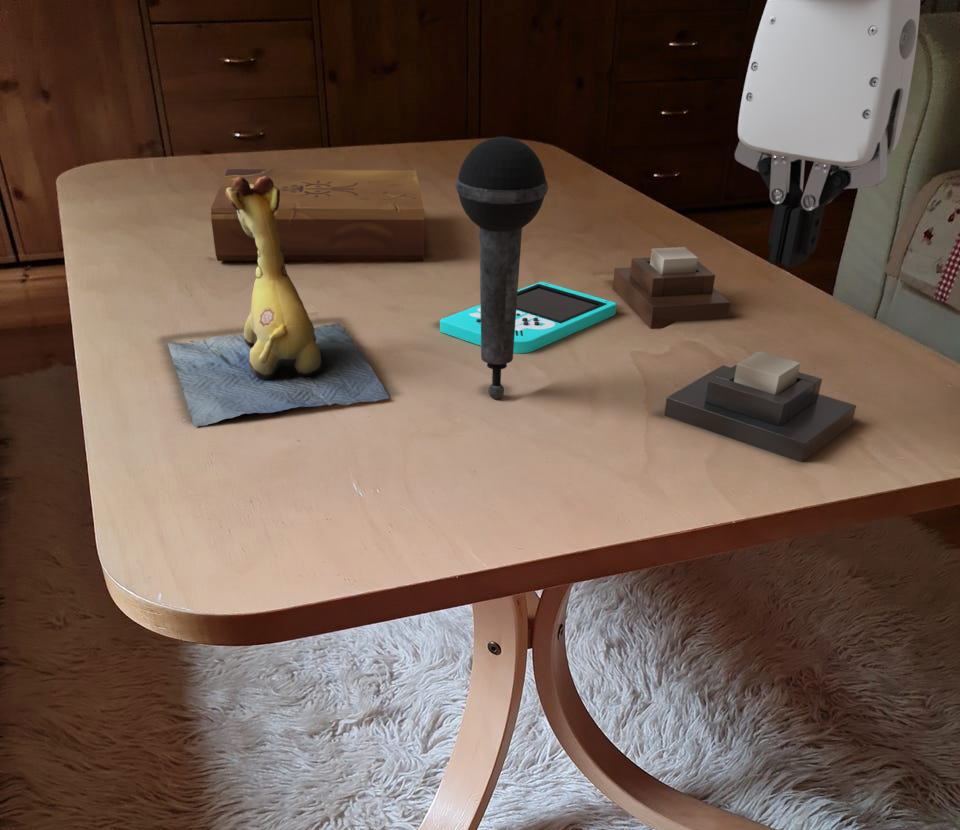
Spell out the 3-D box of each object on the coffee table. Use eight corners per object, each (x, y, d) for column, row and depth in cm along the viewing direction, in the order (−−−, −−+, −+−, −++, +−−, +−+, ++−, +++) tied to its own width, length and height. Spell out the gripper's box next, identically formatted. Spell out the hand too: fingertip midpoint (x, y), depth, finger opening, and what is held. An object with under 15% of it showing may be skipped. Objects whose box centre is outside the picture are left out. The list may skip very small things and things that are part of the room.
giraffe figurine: (338, 324, 97) (320, 145, 87) (390, 405, 84) (376, 206, 74) (168, 349, 93) (129, 164, 83) (196, 438, 80) (153, 232, 70)
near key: (796, 384, 79) (800, 362, 78) (774, 398, 77) (779, 376, 76) (754, 371, 81) (758, 350, 80) (732, 385, 79) (736, 363, 78)
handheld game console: (436, 330, 97) (436, 316, 96) (539, 291, 107) (540, 278, 106) (517, 358, 92) (517, 344, 91) (617, 314, 101) (619, 300, 101)
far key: (695, 275, 100) (698, 257, 99) (661, 277, 100) (663, 259, 99) (682, 264, 103) (685, 246, 102) (649, 266, 103) (651, 248, 101)
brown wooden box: (217, 265, 112) (209, 210, 108) (233, 218, 126) (227, 169, 123) (424, 262, 114) (423, 208, 110) (416, 217, 128) (415, 168, 125)
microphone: (483, 422, 81) (488, 151, 69) (440, 392, 86) (437, 133, 73) (552, 404, 84) (569, 142, 72) (507, 375, 89) (516, 124, 76)
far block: (727, 324, 100) (734, 283, 97) (650, 329, 98) (655, 287, 96) (683, 285, 109) (688, 247, 107) (612, 289, 108) (616, 250, 105)
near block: (850, 430, 81) (862, 383, 79) (799, 469, 76) (811, 420, 73) (718, 389, 87) (726, 344, 85) (662, 422, 82) (669, 375, 79)
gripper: (993, -37, 61) (908, 272, 72) (768, -51, 68) (723, 230, 79) (948, -31, 56) (865, 298, 67) (712, -47, 64) (673, 251, 75)
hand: (788, 261), depth 73 cm, fingers closed
